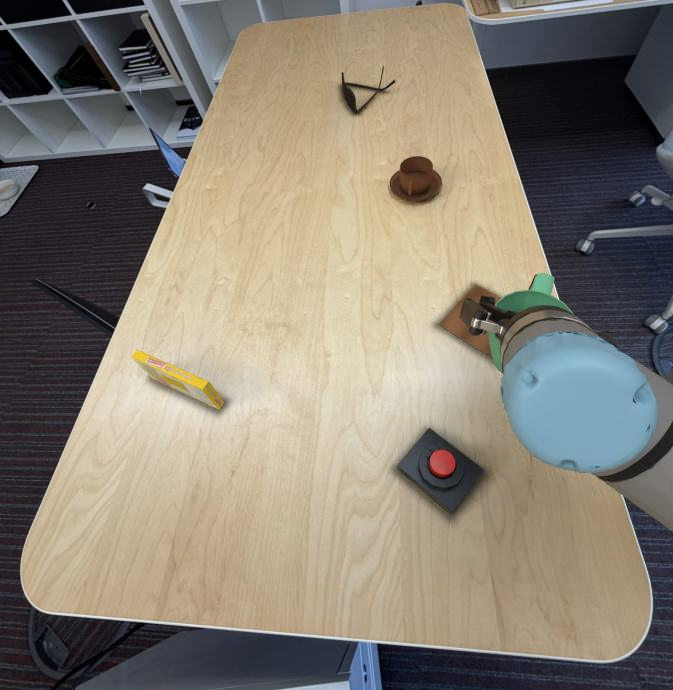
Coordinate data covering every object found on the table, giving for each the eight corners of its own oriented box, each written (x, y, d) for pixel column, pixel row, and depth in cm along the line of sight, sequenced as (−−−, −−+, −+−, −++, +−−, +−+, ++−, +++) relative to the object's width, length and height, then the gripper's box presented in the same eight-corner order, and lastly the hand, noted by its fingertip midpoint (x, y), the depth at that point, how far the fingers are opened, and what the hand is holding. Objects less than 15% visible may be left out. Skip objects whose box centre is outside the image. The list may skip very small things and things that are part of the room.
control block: (481, 473, 63) (487, 466, 59) (450, 514, 60) (454, 510, 57) (428, 432, 67) (430, 423, 64) (397, 469, 65) (397, 462, 61)
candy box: (226, 400, 74) (209, 380, 67) (220, 410, 73) (201, 391, 66) (159, 369, 79) (136, 348, 72) (152, 378, 78) (128, 357, 71)
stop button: (458, 464, 60) (460, 460, 59) (444, 482, 59) (445, 480, 58) (438, 448, 62) (439, 444, 60) (423, 466, 61) (424, 463, 59)
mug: (542, 404, 54) (571, 369, 45) (467, 380, 57) (481, 342, 48) (561, 318, 60) (590, 273, 52) (493, 300, 63) (509, 254, 55)
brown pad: (531, 316, 76) (532, 315, 76) (495, 360, 72) (495, 359, 72) (475, 285, 81) (475, 284, 81) (438, 325, 77) (438, 323, 77)
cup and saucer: (444, 204, 94) (447, 180, 89) (391, 208, 95) (391, 186, 90) (437, 170, 100) (440, 147, 95) (387, 175, 101) (387, 152, 96)
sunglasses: (400, 104, 117) (400, 85, 112) (351, 116, 116) (349, 97, 112) (384, 75, 125) (383, 57, 121) (338, 86, 125) (336, 69, 121)
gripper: (413, 356, 41) (440, 320, 61) (673, 431, 34) (606, 363, 55) (433, 281, 38) (454, 270, 59) (714, 346, 32) (628, 309, 52)
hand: (527, 315), depth 57 cm, fingers closed on mug, 9 cm apart
